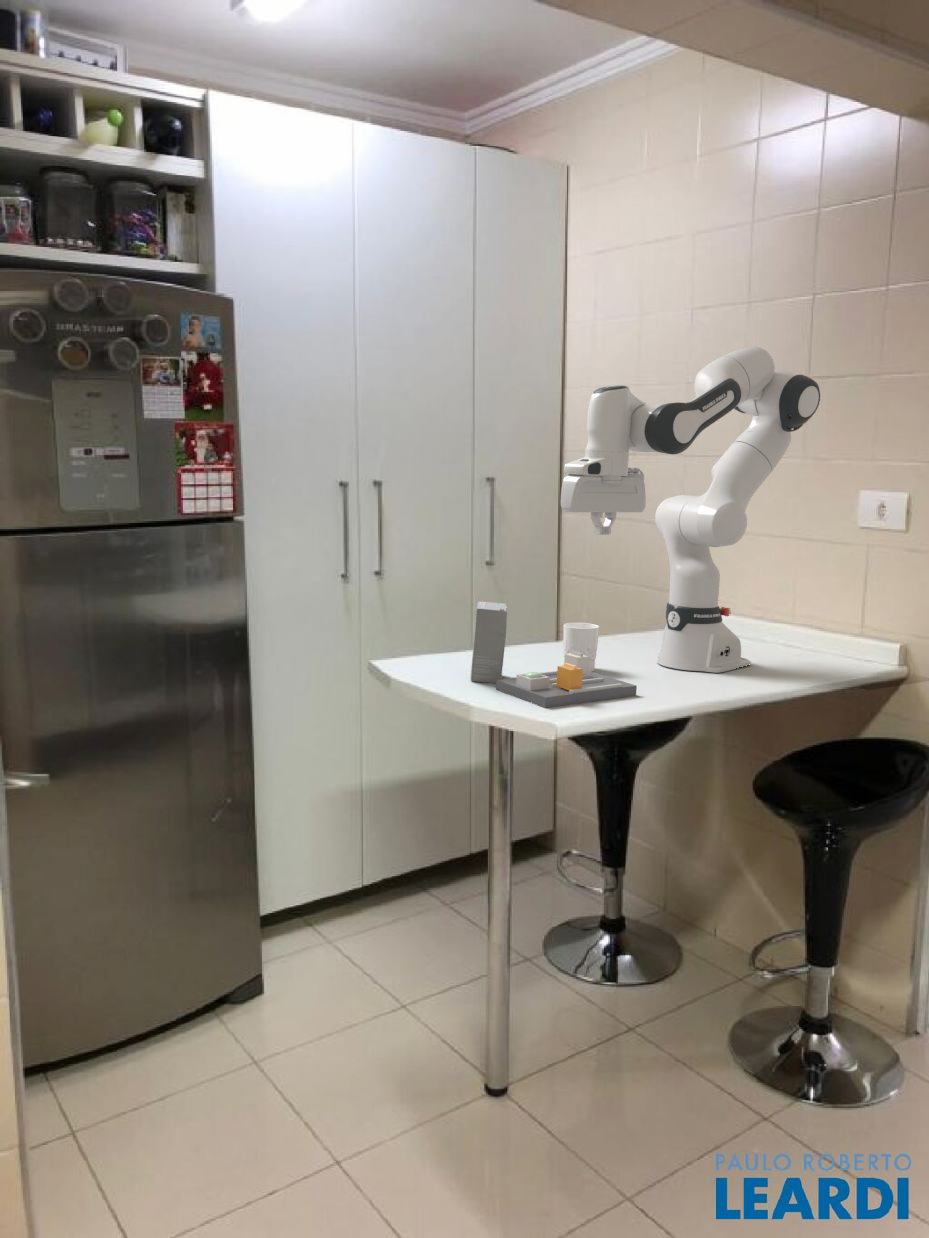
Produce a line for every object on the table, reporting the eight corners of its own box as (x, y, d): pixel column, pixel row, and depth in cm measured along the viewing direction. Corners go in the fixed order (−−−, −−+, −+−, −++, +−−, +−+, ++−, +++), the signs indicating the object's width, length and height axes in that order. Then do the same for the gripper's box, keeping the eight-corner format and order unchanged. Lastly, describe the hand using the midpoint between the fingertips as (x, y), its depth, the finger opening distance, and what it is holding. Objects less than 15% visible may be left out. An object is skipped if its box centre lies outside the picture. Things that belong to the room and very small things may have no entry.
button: (534, 681, 197) (534, 671, 197) (543, 684, 195) (544, 674, 195) (522, 682, 196) (522, 672, 196) (531, 685, 193) (531, 675, 193)
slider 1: (575, 671, 210) (576, 650, 209) (587, 675, 206) (588, 653, 205) (564, 672, 208) (565, 651, 207) (576, 676, 205) (577, 654, 204)
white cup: (592, 674, 218) (594, 629, 216) (557, 671, 220) (559, 626, 219) (600, 668, 225) (602, 624, 223) (566, 664, 228) (568, 621, 226)
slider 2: (568, 684, 197) (569, 661, 196) (581, 688, 194) (582, 665, 193) (556, 686, 196) (557, 663, 195) (569, 690, 192) (570, 667, 192)
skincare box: (471, 673, 215) (473, 600, 212) (504, 674, 214) (507, 602, 212) (470, 682, 206) (472, 606, 204) (504, 683, 206) (507, 608, 204)
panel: (584, 678, 213) (585, 659, 213) (636, 695, 200) (637, 674, 199) (496, 689, 201) (497, 669, 200) (544, 707, 188) (546, 686, 187)
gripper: (633, 467, 212) (629, 532, 214) (557, 465, 201) (554, 534, 203) (654, 468, 206) (650, 535, 209) (577, 466, 195) (574, 536, 198)
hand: (602, 534), depth 206 cm, fingers closed
